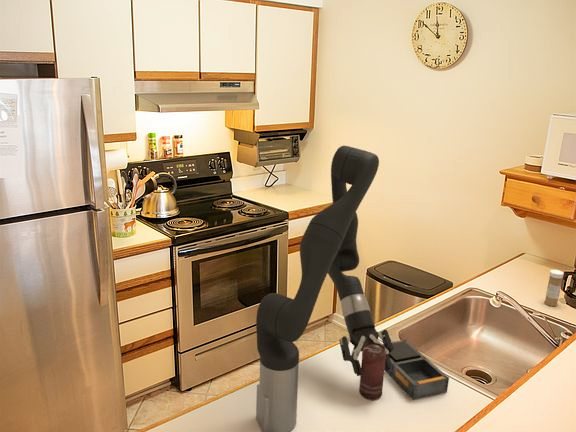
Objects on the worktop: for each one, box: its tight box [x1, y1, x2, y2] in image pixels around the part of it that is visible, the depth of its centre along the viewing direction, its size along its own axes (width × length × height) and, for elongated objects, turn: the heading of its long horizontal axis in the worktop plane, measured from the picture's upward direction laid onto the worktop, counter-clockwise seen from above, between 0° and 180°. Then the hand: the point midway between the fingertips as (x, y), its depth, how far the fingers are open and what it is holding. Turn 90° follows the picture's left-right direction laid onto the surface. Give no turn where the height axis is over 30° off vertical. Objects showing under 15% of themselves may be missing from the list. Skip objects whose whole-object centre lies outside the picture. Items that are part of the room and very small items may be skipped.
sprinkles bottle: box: [544, 269, 564, 307], centre depth 193 cm, size 5×5×14 cm
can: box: [358, 343, 386, 401], centre depth 135 cm, size 6×6×14 cm
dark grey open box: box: [382, 339, 450, 401], centre depth 145 cm, size 11×21×5 cm, turn 21°
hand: (374, 372), depth 134 cm, fingers open, 8 cm apart
